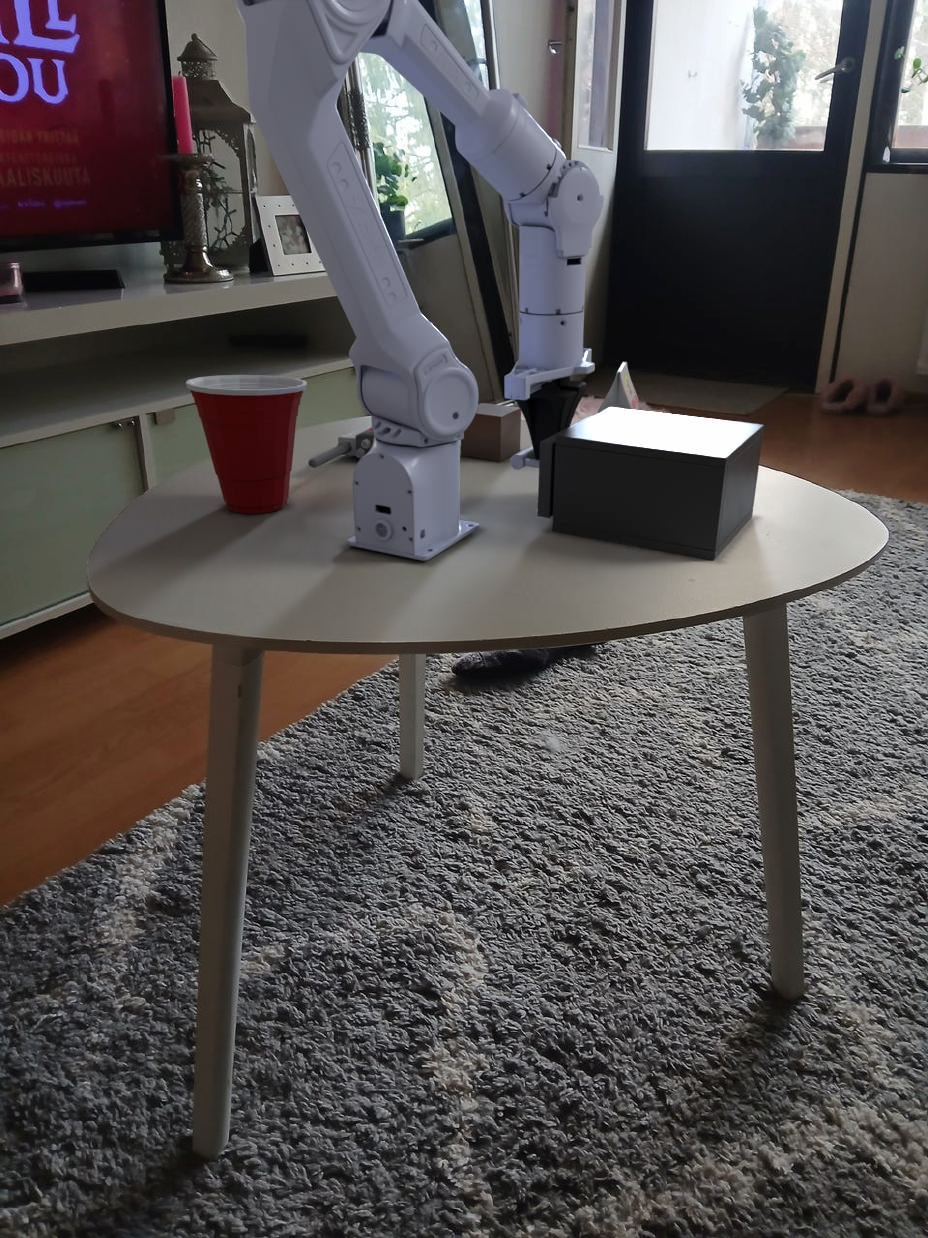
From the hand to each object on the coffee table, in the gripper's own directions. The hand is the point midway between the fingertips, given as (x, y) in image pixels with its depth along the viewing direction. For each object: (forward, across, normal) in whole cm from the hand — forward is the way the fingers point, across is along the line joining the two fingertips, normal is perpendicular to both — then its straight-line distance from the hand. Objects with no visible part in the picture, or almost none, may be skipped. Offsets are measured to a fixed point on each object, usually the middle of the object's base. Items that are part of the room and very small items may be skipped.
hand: (548, 460), depth 91 cm
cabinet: (+4, 0, -11) cm, 12 cm away
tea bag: (+5, +18, 0) cm, 19 cm away
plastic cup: (+4, -14, +24) cm, 28 cm away
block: (+4, +14, +13) cm, 19 cm away
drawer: (+3, 0, -6) cm, 7 cm away
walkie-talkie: (+4, +6, +23) cm, 25 cm away
